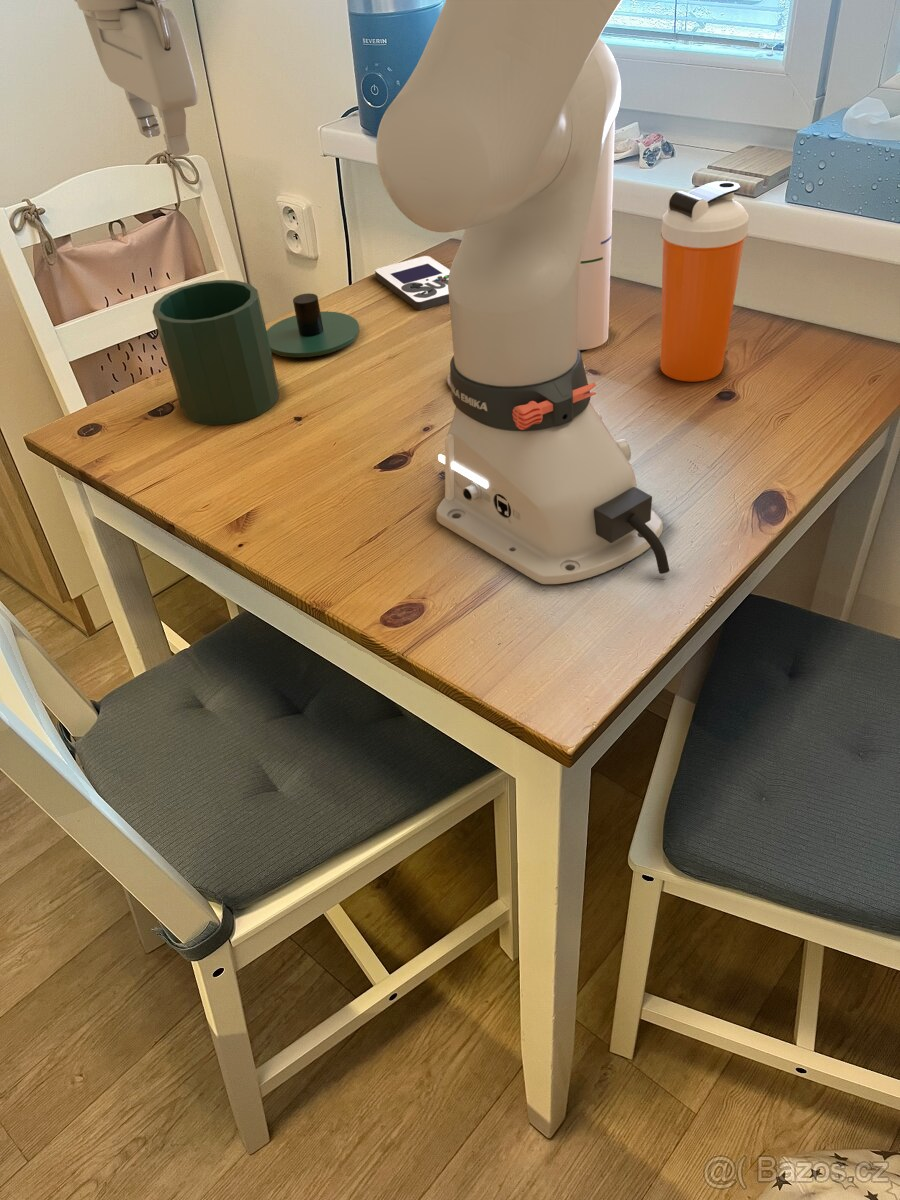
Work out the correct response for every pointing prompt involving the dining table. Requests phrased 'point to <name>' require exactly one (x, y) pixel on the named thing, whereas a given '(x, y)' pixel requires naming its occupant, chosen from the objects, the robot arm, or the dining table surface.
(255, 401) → the canister
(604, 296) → the cylindrical container
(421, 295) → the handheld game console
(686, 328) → the shaker bottle
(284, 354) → the canister lid
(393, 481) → the dining table surface
